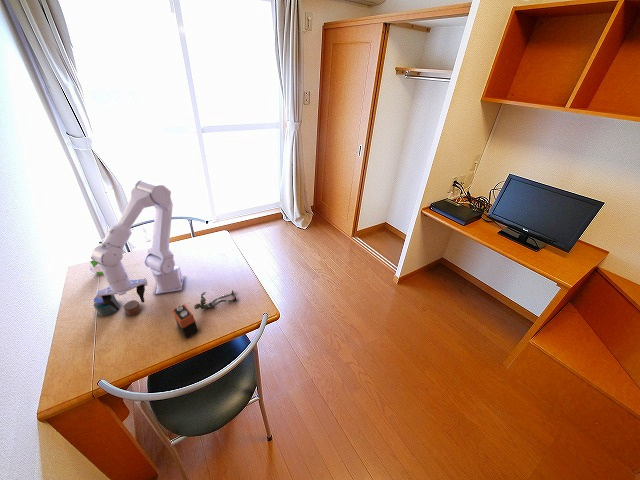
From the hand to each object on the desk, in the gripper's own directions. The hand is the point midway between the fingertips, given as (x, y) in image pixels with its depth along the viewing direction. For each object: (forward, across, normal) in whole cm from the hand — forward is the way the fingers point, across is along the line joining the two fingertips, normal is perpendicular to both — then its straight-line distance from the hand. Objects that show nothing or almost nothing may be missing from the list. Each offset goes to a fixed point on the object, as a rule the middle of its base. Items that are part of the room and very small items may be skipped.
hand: (131, 304), depth 97 cm
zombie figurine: (+3, +27, -11) cm, 30 cm away
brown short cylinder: (+3, 0, 0) cm, 3 cm away
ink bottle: (+3, -8, +5) cm, 10 cm away
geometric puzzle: (+3, -11, +31) cm, 33 cm away
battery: (+3, +16, -18) cm, 25 cm away
